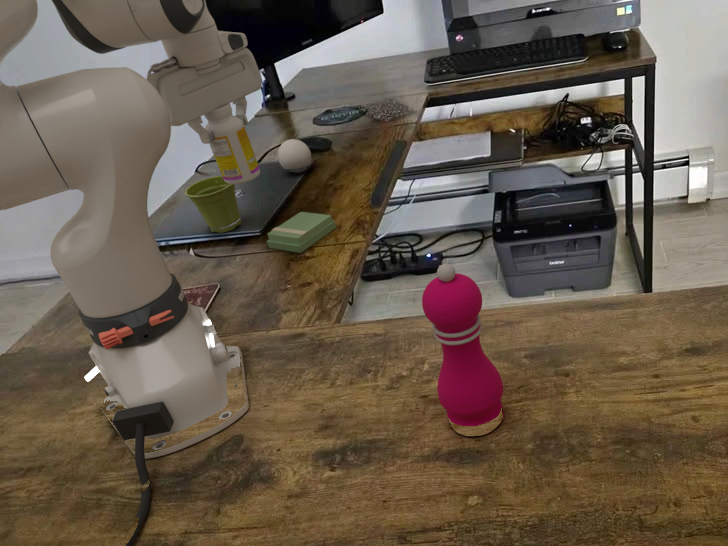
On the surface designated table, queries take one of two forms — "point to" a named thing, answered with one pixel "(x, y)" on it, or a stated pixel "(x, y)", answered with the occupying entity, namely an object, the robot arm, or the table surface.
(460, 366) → the pepper mill
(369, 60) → the table surface
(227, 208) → the plant pot
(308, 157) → the white rounded piece
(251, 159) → the supplement bottle
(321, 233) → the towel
